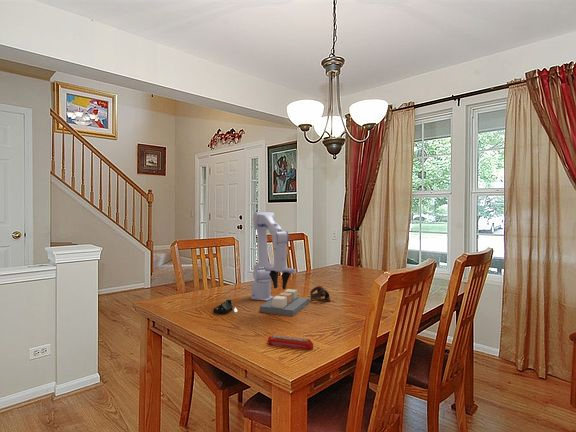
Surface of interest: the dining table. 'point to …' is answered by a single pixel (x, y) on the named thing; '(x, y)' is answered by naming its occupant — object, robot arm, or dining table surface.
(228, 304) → the black lumpy piece
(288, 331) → the dining table surface
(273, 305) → the cream key
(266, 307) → the grey rectangular frame
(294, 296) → the sage key
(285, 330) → the dining table surface
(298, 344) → the candy bar
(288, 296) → the terracotta key
